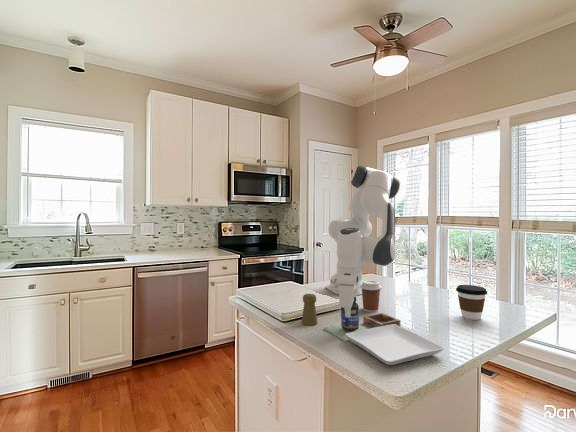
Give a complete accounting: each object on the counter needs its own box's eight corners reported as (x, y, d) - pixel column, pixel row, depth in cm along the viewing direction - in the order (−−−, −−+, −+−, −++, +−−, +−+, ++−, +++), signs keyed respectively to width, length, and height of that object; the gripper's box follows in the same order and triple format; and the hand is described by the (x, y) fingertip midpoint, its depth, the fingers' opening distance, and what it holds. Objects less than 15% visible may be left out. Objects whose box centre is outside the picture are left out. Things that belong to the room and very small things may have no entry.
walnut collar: (363, 322, 118) (363, 316, 118) (382, 319, 123) (382, 312, 123) (381, 331, 110) (381, 324, 110) (400, 326, 114) (400, 320, 114)
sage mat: (323, 328, 113) (323, 327, 113) (352, 323, 118) (352, 321, 118) (345, 342, 101) (345, 340, 101) (376, 335, 107) (376, 333, 107)
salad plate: (388, 373, 82) (388, 360, 82) (343, 342, 101) (343, 332, 101) (446, 358, 90) (446, 347, 90) (394, 332, 110) (394, 323, 110)
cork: (308, 319, 123) (308, 291, 123) (320, 323, 119) (320, 294, 118) (298, 323, 119) (298, 294, 118) (310, 327, 114) (310, 297, 114)
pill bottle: (350, 332, 105) (349, 300, 105) (337, 327, 110) (336, 296, 110) (362, 328, 109) (362, 296, 109) (349, 323, 114) (349, 293, 114)
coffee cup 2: (452, 317, 124) (452, 287, 124) (459, 311, 132) (460, 283, 132) (484, 324, 117) (484, 292, 117) (490, 317, 125) (490, 287, 125)
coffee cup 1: (373, 314, 128) (373, 285, 128) (355, 309, 135) (355, 281, 135) (385, 309, 134) (385, 282, 134) (367, 305, 141) (367, 278, 141)
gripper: (344, 268, 120) (344, 304, 121) (335, 279, 101) (335, 322, 101) (361, 269, 118) (361, 305, 119) (355, 281, 99) (355, 324, 99)
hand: (349, 313), depth 110 cm, fingers closed on pill bottle, 6 cm apart
